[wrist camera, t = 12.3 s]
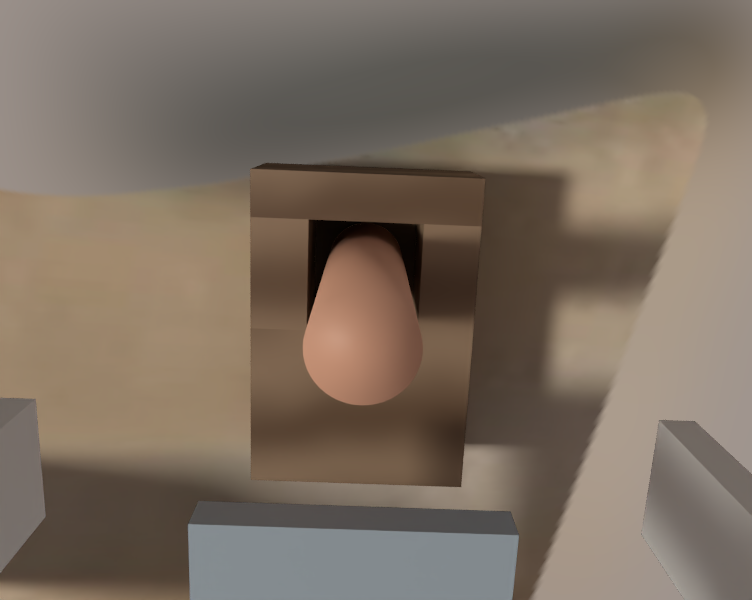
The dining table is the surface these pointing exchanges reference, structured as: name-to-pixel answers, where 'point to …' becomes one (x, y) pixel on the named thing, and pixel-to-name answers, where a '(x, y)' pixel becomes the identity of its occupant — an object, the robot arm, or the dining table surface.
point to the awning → (349, 553)
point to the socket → (294, 305)
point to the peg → (363, 320)
